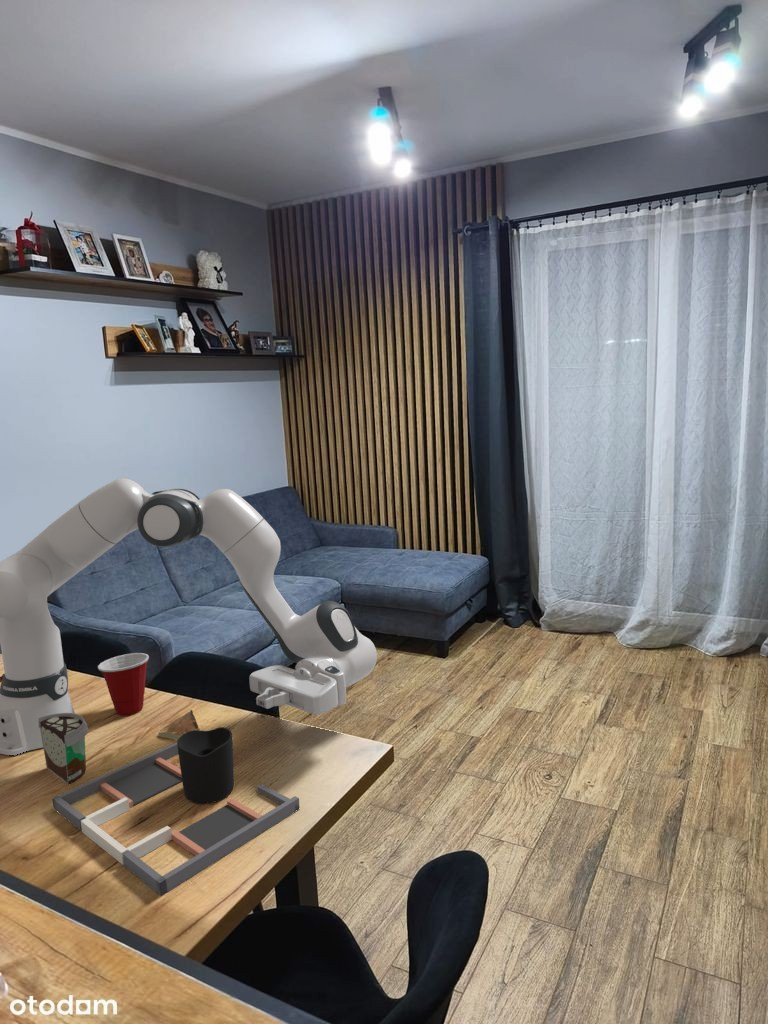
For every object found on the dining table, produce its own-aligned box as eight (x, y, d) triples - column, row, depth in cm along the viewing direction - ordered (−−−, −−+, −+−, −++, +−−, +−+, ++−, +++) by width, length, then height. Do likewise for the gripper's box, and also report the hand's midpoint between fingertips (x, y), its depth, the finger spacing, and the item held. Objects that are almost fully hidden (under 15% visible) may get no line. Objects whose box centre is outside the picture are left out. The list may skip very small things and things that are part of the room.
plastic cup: (130, 696, 164) (125, 648, 162) (164, 704, 159) (159, 654, 157) (92, 715, 155) (86, 664, 153) (126, 724, 150) (120, 672, 148)
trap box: (184, 748, 139) (183, 738, 138) (299, 809, 116) (298, 798, 116) (53, 808, 119) (52, 798, 119) (161, 895, 97) (159, 883, 97)
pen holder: (210, 771, 129) (205, 721, 128) (247, 784, 124) (243, 732, 123) (170, 797, 122) (165, 743, 120) (209, 812, 117) (204, 757, 115)
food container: (104, 773, 130) (99, 723, 129) (72, 787, 126) (65, 736, 124) (75, 753, 138) (69, 705, 137) (43, 765, 134) (37, 717, 132)
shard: (192, 715, 154) (191, 708, 154) (219, 721, 151) (219, 713, 150) (157, 738, 144) (156, 730, 144) (186, 744, 141) (185, 736, 141)
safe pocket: (126, 807, 119) (125, 797, 118) (171, 839, 110) (170, 828, 109) (80, 830, 113) (79, 819, 112) (124, 866, 104) (123, 854, 103)
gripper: (279, 653, 147) (225, 675, 136) (349, 674, 133) (295, 700, 123) (282, 681, 148) (228, 705, 137) (351, 705, 134) (298, 733, 124)
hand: (261, 703), depth 130 cm, fingers closed
